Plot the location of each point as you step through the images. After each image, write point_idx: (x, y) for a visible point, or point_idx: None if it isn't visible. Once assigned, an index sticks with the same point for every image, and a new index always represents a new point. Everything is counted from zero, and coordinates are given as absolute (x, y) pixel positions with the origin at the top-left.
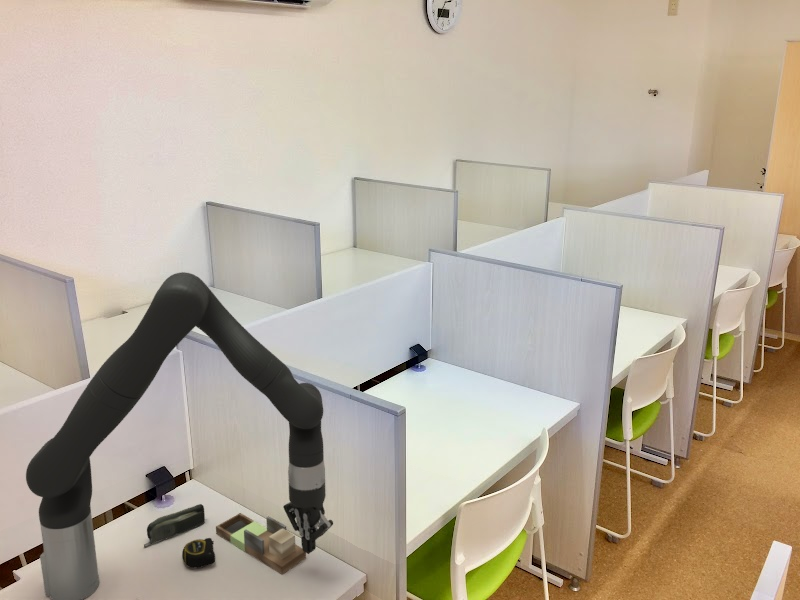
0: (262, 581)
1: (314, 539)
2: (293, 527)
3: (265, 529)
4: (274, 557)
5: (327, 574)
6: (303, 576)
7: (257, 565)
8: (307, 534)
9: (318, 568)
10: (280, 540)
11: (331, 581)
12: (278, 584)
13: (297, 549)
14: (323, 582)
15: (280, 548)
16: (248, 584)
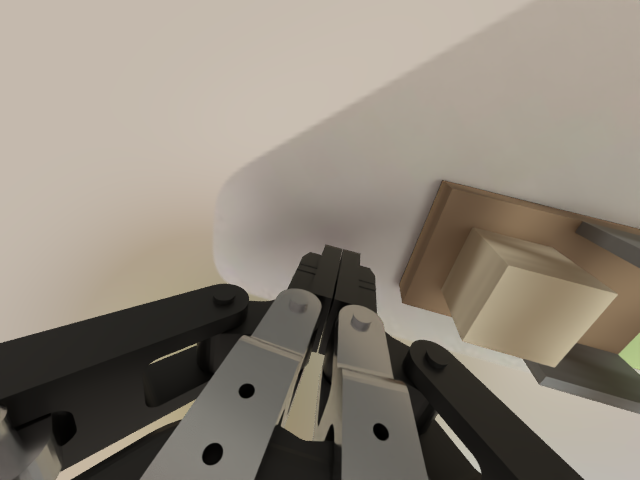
0: (508, 106)
1: (213, 291)
2: (460, 366)
3: (626, 357)
4: (513, 227)
5: (295, 243)
6: (361, 205)
7: (574, 185)
8: (286, 321)
9: None
10: (527, 287)
11: (266, 220)
12: (430, 124)
13: (436, 298)
14: (284, 206)
15: (502, 252)
16: (572, 53)
